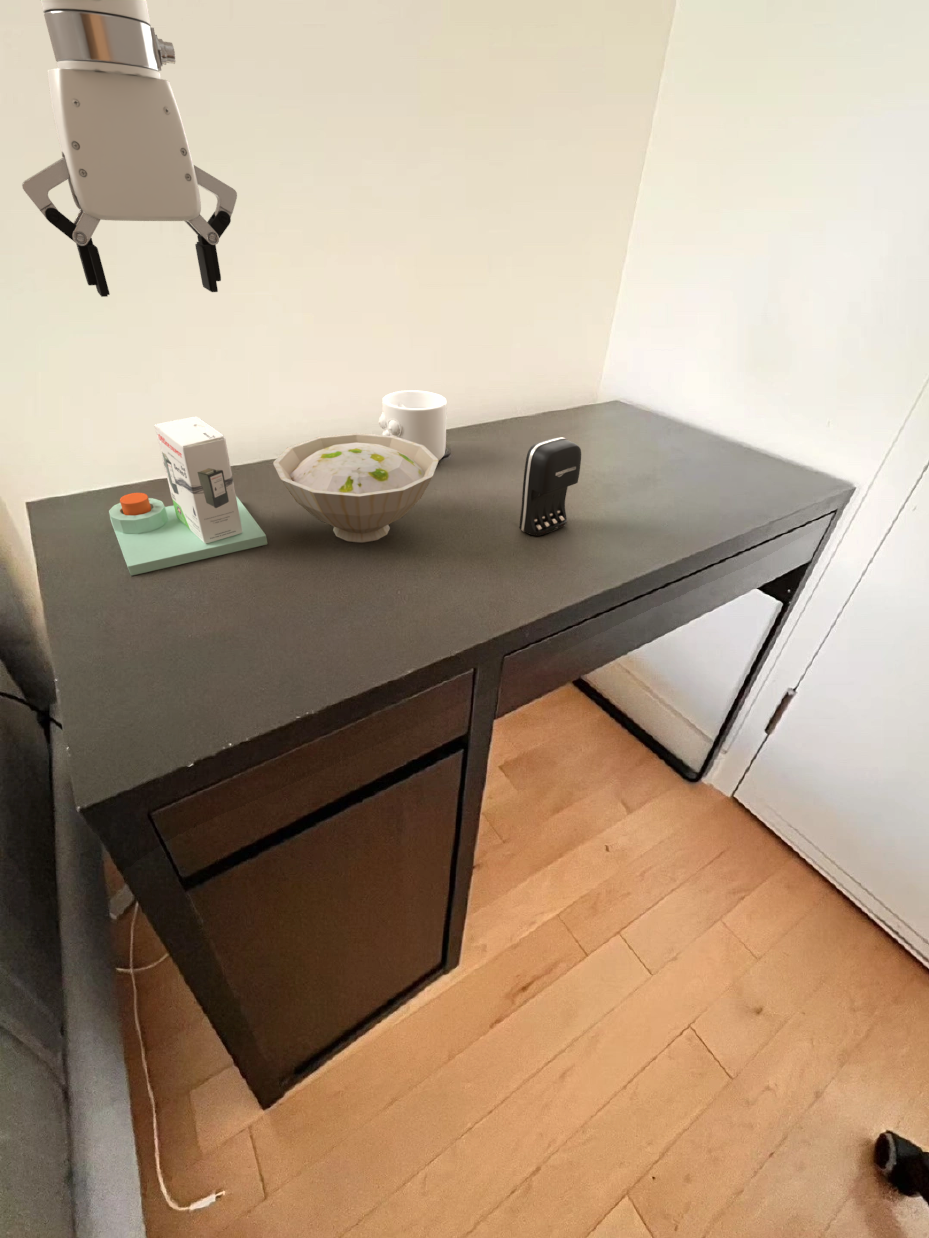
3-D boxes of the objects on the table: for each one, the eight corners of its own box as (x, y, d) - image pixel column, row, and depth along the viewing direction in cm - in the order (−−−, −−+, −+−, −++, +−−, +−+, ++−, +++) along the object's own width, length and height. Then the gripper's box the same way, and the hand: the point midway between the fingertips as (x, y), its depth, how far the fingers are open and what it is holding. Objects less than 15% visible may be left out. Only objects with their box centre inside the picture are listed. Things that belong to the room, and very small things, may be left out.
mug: (362, 449, 99) (358, 392, 94) (416, 438, 104) (415, 383, 99) (401, 475, 92) (400, 414, 86) (457, 461, 97) (459, 403, 91)
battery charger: (537, 542, 77) (549, 454, 70) (516, 530, 79) (525, 444, 72) (574, 527, 80) (589, 442, 74) (553, 516, 83) (565, 433, 76)
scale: (130, 576, 66) (122, 551, 65) (112, 526, 75) (105, 503, 73) (267, 544, 73) (264, 521, 72) (236, 502, 82) (232, 480, 80)
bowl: (334, 486, 87) (328, 415, 82) (460, 513, 82) (463, 440, 76) (249, 546, 73) (234, 465, 67) (396, 583, 68) (394, 500, 62)
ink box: (175, 518, 75) (150, 422, 68) (214, 507, 78) (195, 414, 71) (204, 545, 70) (181, 445, 63) (245, 533, 73) (227, 435, 66)
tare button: (126, 519, 71) (121, 505, 70) (121, 509, 73) (117, 495, 72) (153, 514, 73) (150, 500, 72) (148, 504, 75) (145, 490, 74)
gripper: (206, 70, 56) (238, 283, 66) (-24, 42, 48) (52, 289, 58) (229, 62, 51) (260, 294, 61) (-24, 31, 43) (60, 303, 53)
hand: (159, 292), depth 59 cm, fingers open, 9 cm apart
